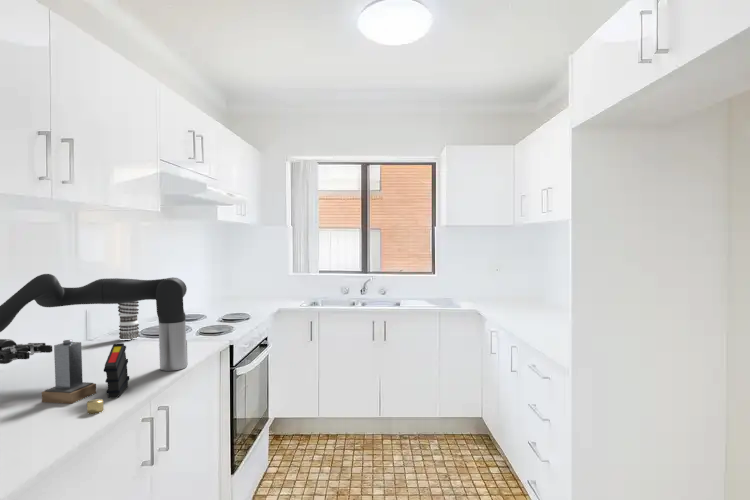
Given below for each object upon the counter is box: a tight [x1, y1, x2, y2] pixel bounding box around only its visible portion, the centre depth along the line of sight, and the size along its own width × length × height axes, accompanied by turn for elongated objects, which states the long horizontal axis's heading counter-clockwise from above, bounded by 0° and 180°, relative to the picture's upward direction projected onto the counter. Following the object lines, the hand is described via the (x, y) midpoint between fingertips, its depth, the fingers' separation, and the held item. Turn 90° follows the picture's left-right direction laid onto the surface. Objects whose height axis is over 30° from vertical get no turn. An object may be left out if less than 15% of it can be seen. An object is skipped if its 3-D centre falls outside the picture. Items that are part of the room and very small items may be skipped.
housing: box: [53, 339, 83, 389], centre depth 154 cm, size 5×5×14 cm
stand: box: [41, 381, 97, 405], centre depth 154 cm, size 10×10×3 cm
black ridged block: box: [103, 343, 130, 399], centre depth 158 cm, size 4×13×15 cm, turn 12°
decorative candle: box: [117, 301, 140, 340], centre depth 242 cm, size 9×9×25 cm
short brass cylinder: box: [86, 398, 105, 415], centre depth 142 cm, size 4×4×3 cm
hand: (40, 352), depth 155 cm, fingers open, 8 cm apart
